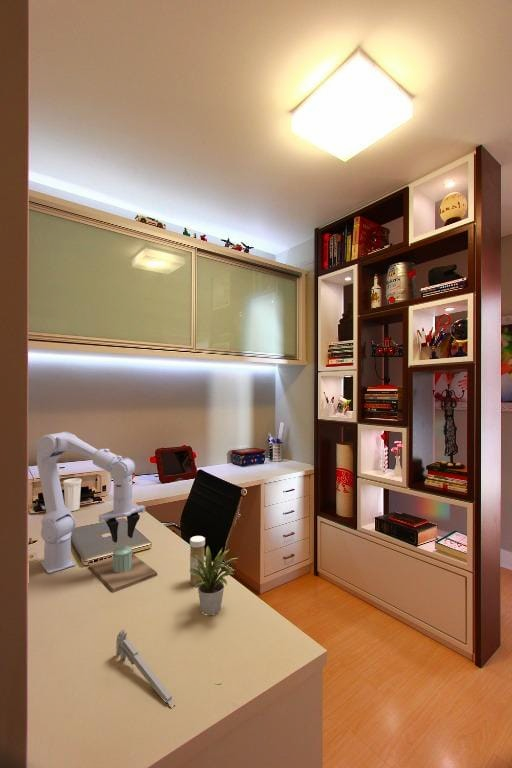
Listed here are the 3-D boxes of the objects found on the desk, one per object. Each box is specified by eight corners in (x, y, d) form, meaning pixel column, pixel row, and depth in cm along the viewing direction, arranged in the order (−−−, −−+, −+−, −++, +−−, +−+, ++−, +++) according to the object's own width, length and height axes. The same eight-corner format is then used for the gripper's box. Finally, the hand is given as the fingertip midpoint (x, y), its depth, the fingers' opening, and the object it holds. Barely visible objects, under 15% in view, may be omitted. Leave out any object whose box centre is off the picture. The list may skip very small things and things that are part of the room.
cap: (110, 568, 118) (110, 549, 118) (127, 562, 122) (127, 544, 122) (117, 574, 114) (117, 555, 114) (134, 568, 118) (134, 550, 118)
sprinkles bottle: (207, 583, 111) (207, 539, 111) (193, 588, 108) (193, 542, 108) (200, 577, 115) (201, 534, 115) (187, 581, 112) (187, 537, 112)
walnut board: (88, 567, 120) (88, 564, 120) (129, 554, 130) (129, 551, 130) (113, 592, 106) (113, 588, 106) (157, 575, 115) (157, 572, 115)
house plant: (221, 636, 87) (221, 568, 87) (172, 622, 92) (173, 557, 93) (245, 603, 100) (245, 544, 101) (201, 593, 106) (201, 536, 106)
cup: (58, 512, 173) (59, 482, 173) (70, 506, 181) (70, 477, 181) (74, 513, 172) (74, 482, 172) (85, 507, 180) (85, 478, 180)
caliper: (115, 656, 81) (116, 628, 81) (120, 654, 82) (120, 625, 82) (171, 710, 68) (171, 676, 68) (176, 706, 68) (176, 672, 68)
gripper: (105, 504, 110) (104, 549, 110) (149, 495, 120) (149, 536, 120) (96, 499, 115) (96, 542, 115) (139, 490, 125) (139, 530, 125)
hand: (122, 539), depth 118 cm, fingers open, 4 cm apart
